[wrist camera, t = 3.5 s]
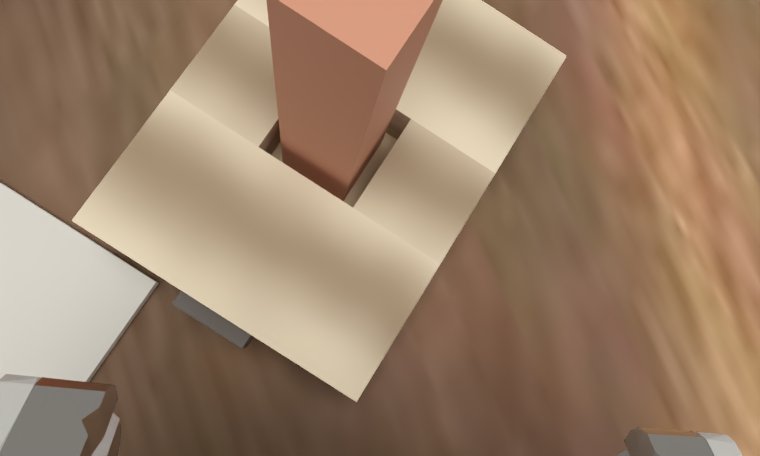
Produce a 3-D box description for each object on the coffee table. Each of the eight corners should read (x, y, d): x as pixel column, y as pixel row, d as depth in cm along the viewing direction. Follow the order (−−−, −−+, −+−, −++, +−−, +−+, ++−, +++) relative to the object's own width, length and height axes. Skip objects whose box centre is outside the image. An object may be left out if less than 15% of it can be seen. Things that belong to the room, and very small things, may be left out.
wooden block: (343, 201, 27) (386, 70, 14) (282, 163, 27) (265, -8, 13) (380, 144, 28) (458, -37, 14) (321, 106, 28) (343, -112, 14)
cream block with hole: (337, 399, 29) (347, 416, 23) (109, 254, 29) (60, 234, 23) (518, 106, 32) (566, 55, 26) (314, -26, 32) (318, -107, 26)
